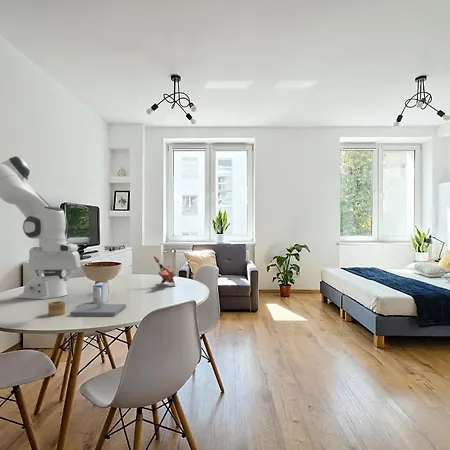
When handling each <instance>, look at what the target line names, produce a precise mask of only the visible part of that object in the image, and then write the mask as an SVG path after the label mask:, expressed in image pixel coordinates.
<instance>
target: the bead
mask: <svg viewBox="0 0 450 450" xmlns="http://www.w3.org/2000/svg"><path fill="white" fill-rule="evenodd" d="M47 307H48V309H47V311H48V316H51V317H55V316H63V315H65V314H66V303H65V301H64V300H63V301H62V300H57V301H50V302H48V305H47Z"/></svg>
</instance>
